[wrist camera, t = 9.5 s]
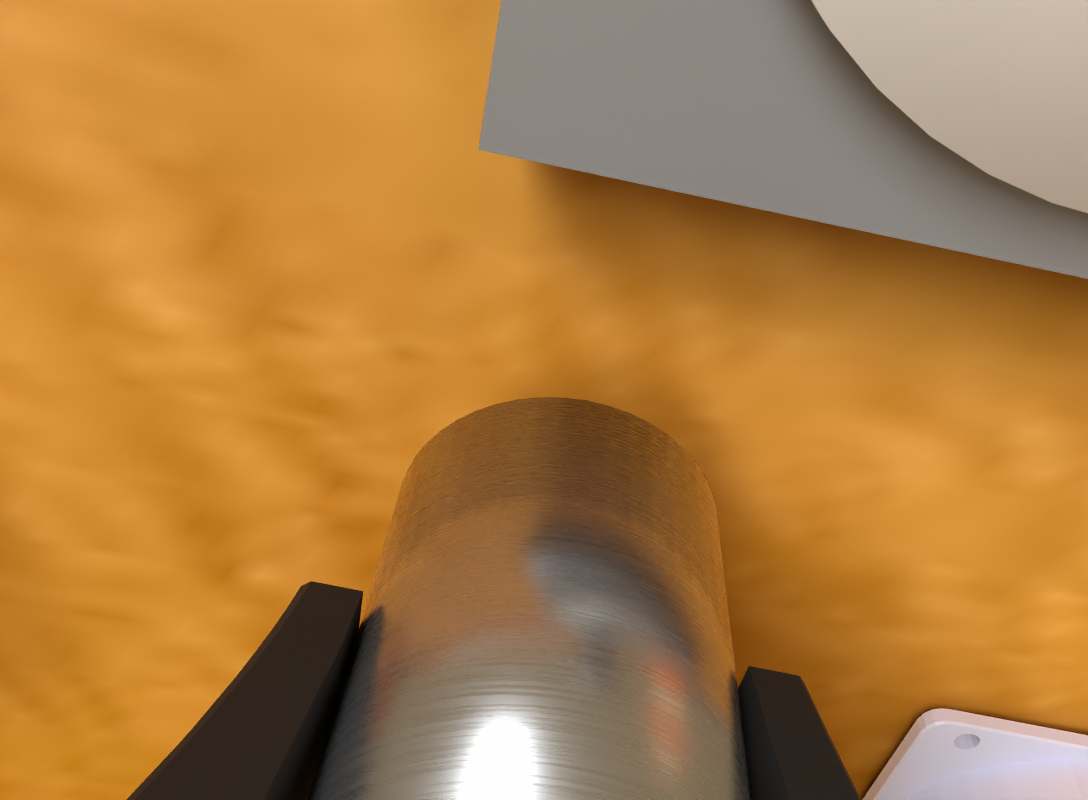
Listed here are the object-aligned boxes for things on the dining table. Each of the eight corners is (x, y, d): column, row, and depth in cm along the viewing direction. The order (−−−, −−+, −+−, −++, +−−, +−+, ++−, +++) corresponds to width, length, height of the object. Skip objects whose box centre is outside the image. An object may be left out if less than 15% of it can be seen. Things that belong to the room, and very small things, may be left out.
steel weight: (758, 431, 12) (848, 895, 7) (673, 658, 15) (698, 1115, 10) (412, 369, 12) (264, 803, 7) (387, 609, 15) (267, 1050, 10)
